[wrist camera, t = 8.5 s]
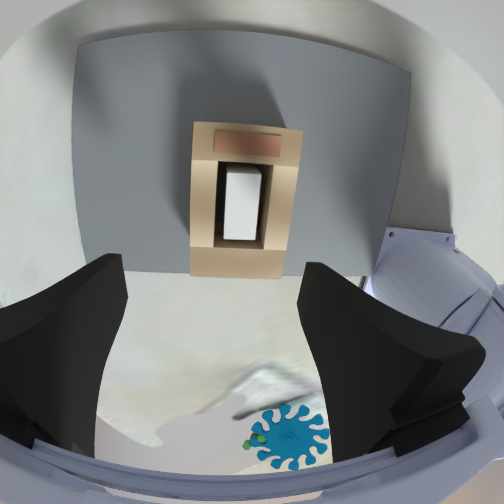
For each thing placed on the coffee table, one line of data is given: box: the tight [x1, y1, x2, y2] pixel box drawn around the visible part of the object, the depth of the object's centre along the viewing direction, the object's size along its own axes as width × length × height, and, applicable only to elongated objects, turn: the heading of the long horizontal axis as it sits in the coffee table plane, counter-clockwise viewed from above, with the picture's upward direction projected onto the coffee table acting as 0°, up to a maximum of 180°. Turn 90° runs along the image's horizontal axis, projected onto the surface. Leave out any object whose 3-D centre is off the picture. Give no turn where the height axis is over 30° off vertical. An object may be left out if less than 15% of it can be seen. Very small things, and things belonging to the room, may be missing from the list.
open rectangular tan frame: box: [190, 122, 303, 279], centre depth 15 cm, size 8×5×4 cm, turn 174°
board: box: [72, 30, 411, 276], centre depth 14 cm, size 22×16×4 cm
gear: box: [243, 404, 330, 470], centre depth 30 cm, size 11×6×10 cm
